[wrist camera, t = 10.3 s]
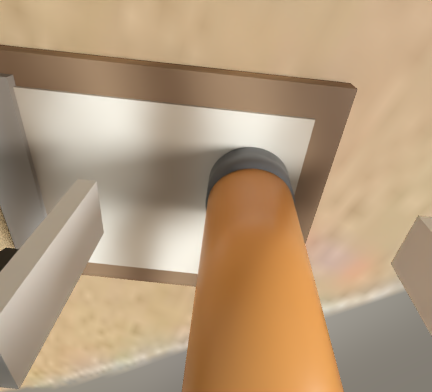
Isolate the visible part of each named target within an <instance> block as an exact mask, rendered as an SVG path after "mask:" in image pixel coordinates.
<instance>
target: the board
mask: <svg viewBox="0 0 432 392" xmlns="http://www.w3.org/2000/svg"><path fill="white" fill-rule="evenodd" d="M356 92H357V88H355V87H354V86H353V85H352V84H351V83H342V82H333V81H324V80H315V79H306V78H297V77H288V76H278V75H269V74H260V73H251V72H242V71H233V70H224V69H215V68H206V67H196V66H187V65H178V64H169V63H160V62H151V61H142V60H133V59H123V58H114V57H105V56H96V55H87V54H78V53H69V52H60V51H51V50H41V49H32V48H23V47H14V46H5V45H0V207H1V210H2V212H3V215H4V218H5V221H6V223H7V226H8V229H9V232H10V235H11V237H12V240H13V243H14V246H15V248H16V249H20V248H21V246H22V245H23V244H24V243H25V242H26V240H27V239H28V238H29V237H30V236H31V234H32V233H33V232H34V231H35V230H36V228H37V227H38V226H39V225H40V224H41V222H42V221H43V220H44V219H45V218H46V216H47V215H48V214H49V213H50V212H51V210H52V209H53V208H54V207H55V206H56V204H57V203H58V202H59V201H60V200H61V198H62V197H63V196H64V195H65V194H66V192H67V191H68V190H69V189H70V188H71V186H72V185H73V184H74V183H75V182H76V181H77V179H82V180H91V181H97V187H98V195H99V202H100V209H101V216H102V223H103V230H104V234H103V236H102V237H101V239H100V241H99V243H98V245H97V247H96V248H95V250H94V252H93V254H92V256H91V258H90V260H89V261H88V263H87V265H86V267H85V269H84V271H83V272H82V274H81V275H90V276H100V277H109V278H119V279H128V280H138V281H147V282H157V283H166V284H176V285H185V286H194V287H196V283H197V276H198V269H199V261H200V254H201V247H202V239H203V232H204V225H205V217H206V203H205V202H206V195H207V188H208V181H209V175H210V172H211V169H212V167H213V166H214V164H215V163H216V162H217V160H218V159H219V158H221V157H222V156H223V155H225V154H226V153H228V152H230V151H232V150H235V149H238V148H243V147H256V148H261V149H265V150H267V151H270V152H271V153H273V154H275V155H276V156H277V157H279V158H280V160H281V161H282V162H283V163H284V165H285V166H286V169H287V171H288V174H289V178H290V182H291V185H292V189H293V193H294V197H295V209H296V212H297V216H298V220H299V224H300V228H301V231H302V235H303V239H304V243H306V240H307V237H308V234H309V231H310V228H311V225H312V222H313V219H314V216H315V214H316V211H317V208H318V205H319V202H320V199H321V196H322V193H323V190H324V187H325V184H326V181H327V178H328V175H329V172H330V169H331V166H332V163H333V160H334V157H335V154H336V151H337V148H338V145H339V142H340V139H341V137H342V134H343V131H344V128H345V125H346V122H347V119H348V116H349V113H350V110H351V107H352V104H353V101H354V98H355V95H356Z"/></svg>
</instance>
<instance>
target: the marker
mask: <svg viewBox="0 0 432 392" xmlns="http://www.w3.org/2000/svg"><path fill="white" fill-rule="evenodd" d="M205 203H206V217H205V225H204V232H203V239H202V247H201V254H200V261H199V269H198V276H197V283H196V291H195V298H194V305H193V313H192V320H191V327H190V335H189V342H188V349H187V357H186V364H185V371H184V379H183V386H182V392H344V390H343V386H342V382H341V379H340V375H339V371H338V367H337V364H336V360H335V356H334V352H333V348H332V345H331V341H330V337H329V333H328V330H327V326H326V322H325V318H324V314H323V311H322V307H321V303H320V299H319V296H318V292H317V288H316V284H315V280H314V277H313V273H312V269H311V265H310V262H309V258H308V254H307V250H306V246H305V243H304V239H303V235H302V231H301V228H300V224H299V220H298V216H297V212H296V209H295V197H294V193H293V189H292V185H291V182H290V178H289V174H288V171H287V169H286V166H285V165H284V163H283V162H282V161H281V160H280V158H279V157H277V156H276V155H275V154H273V153H271V152H270V151H267V150H265V149H261V148H256V147H243V148H238V149H235V150H232V151H230V152H228V153H226V154H225V155H223V156H222V157H221V158H219V159H218V160H217V162H216V163H215V164H214V166H213V167H212V169H211V172H210V175H209V181H208V188H207V195H206V202H205Z"/></svg>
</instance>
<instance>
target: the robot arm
mask: <svg viewBox="0 0 432 392" xmlns="http://www.w3.org/2000/svg"><path fill="white" fill-rule="evenodd" d="M103 234H104V230H103V223H102V216H101V209H100V202H99V195H98V187H97V181H91V180H82V179H77V181H76V182H75V183H74V184H73V185H72V186H71V188H70V189H69V190H68V191H67V192H66V194H65V195H64V196H63V197H62V198H61V200H60V201H59V202H58V203H57V204H56V206H55V207H54V208H53V209H52V210H51V212H50V213H49V214H48V215H47V216H46V218H45V219H44V220H43V221H42V222H41V224H40V225H39V226H38V227H37V228H36V230H35V231H34V232H33V233H32V234H31V236H30V237H29V238H28V239H27V240H26V242H25V243H24V244H23V245H22V246H21V248H20V249H13V248H5V249H3V250H2V251H0V387H4V388H13V389H19V388H20V387H21V385H22V383H23V381H24V379H25V377H26V376H27V374H28V372H29V370H30V368H31V366H32V365H33V363H34V361H35V359H36V357H37V355H38V353H39V352H40V350H41V348H42V346H43V344H44V342H45V341H46V339H47V337H48V335H49V333H50V331H51V330H52V328H53V326H54V324H55V322H56V320H57V318H58V317H59V315H60V313H61V311H62V309H63V307H64V306H65V304H66V302H67V300H68V298H69V296H70V295H71V293H72V291H73V289H74V287H75V285H76V283H77V282H78V280H79V278H80V276H81V274H82V272H83V271H84V269H85V267H86V265H87V263H88V261H89V260H90V258H91V256H92V254H93V252H94V250H95V248H96V247H97V245H98V243H99V241H100V239H101V237H102V236H103ZM391 265H392V266H393V268H394V270H395V272H396V274H397V275H398V277H399V279H400V281H401V282H402V284H403V286H404V288H405V290H406V291H407V293H408V295H409V297H410V298H411V300H412V302H413V304H414V305H415V307H416V309H417V311H418V313H419V315H420V316H421V318H422V320H423V322H424V323H425V325H426V327H427V329H428V330H429V332H430V334H431V336H432V217H426V216H418V217H417V219H416V220H415V222H414V224H413V226H412V227H411V229H410V231H409V233H408V234H407V236H406V238H405V240H404V241H403V243H402V245H401V247H400V248H399V250H398V252H397V254H396V255H395V257H394V259H393V261H392V262H391Z"/></svg>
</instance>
